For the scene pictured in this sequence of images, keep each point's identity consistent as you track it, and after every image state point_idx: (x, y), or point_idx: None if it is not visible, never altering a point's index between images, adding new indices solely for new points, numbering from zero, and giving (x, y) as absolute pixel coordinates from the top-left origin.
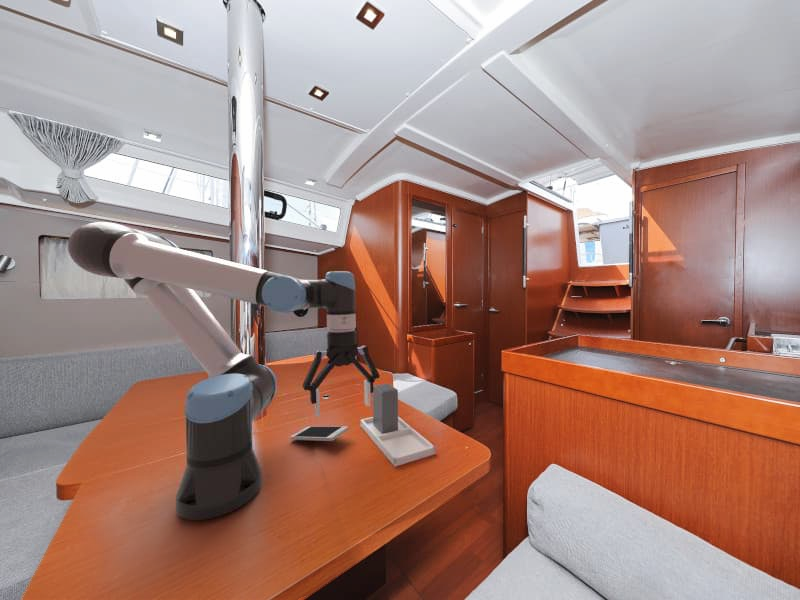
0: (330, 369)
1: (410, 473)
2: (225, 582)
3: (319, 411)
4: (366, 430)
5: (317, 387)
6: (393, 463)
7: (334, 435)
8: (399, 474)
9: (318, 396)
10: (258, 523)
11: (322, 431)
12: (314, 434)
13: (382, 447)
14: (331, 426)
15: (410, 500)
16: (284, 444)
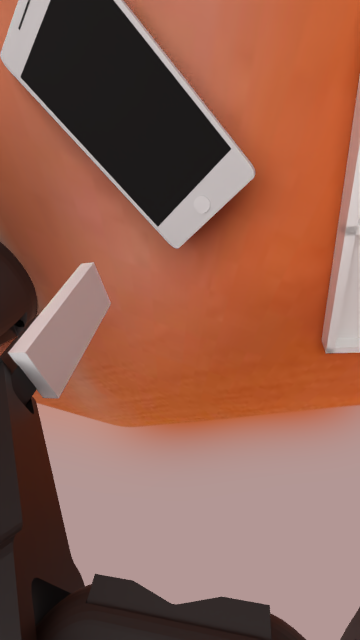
0: (64, 562)
1: (338, 365)
2: (77, 409)
3: (100, 318)
4: (358, 113)
5: (35, 415)
6: (322, 337)
7: (186, 235)
8: (314, 360)
9: (67, 374)
10: (77, 368)
11: (141, 133)
12: (109, 143)
13: (333, 286)
14: (183, 84)
15: (293, 405)
16: (5, 105)
